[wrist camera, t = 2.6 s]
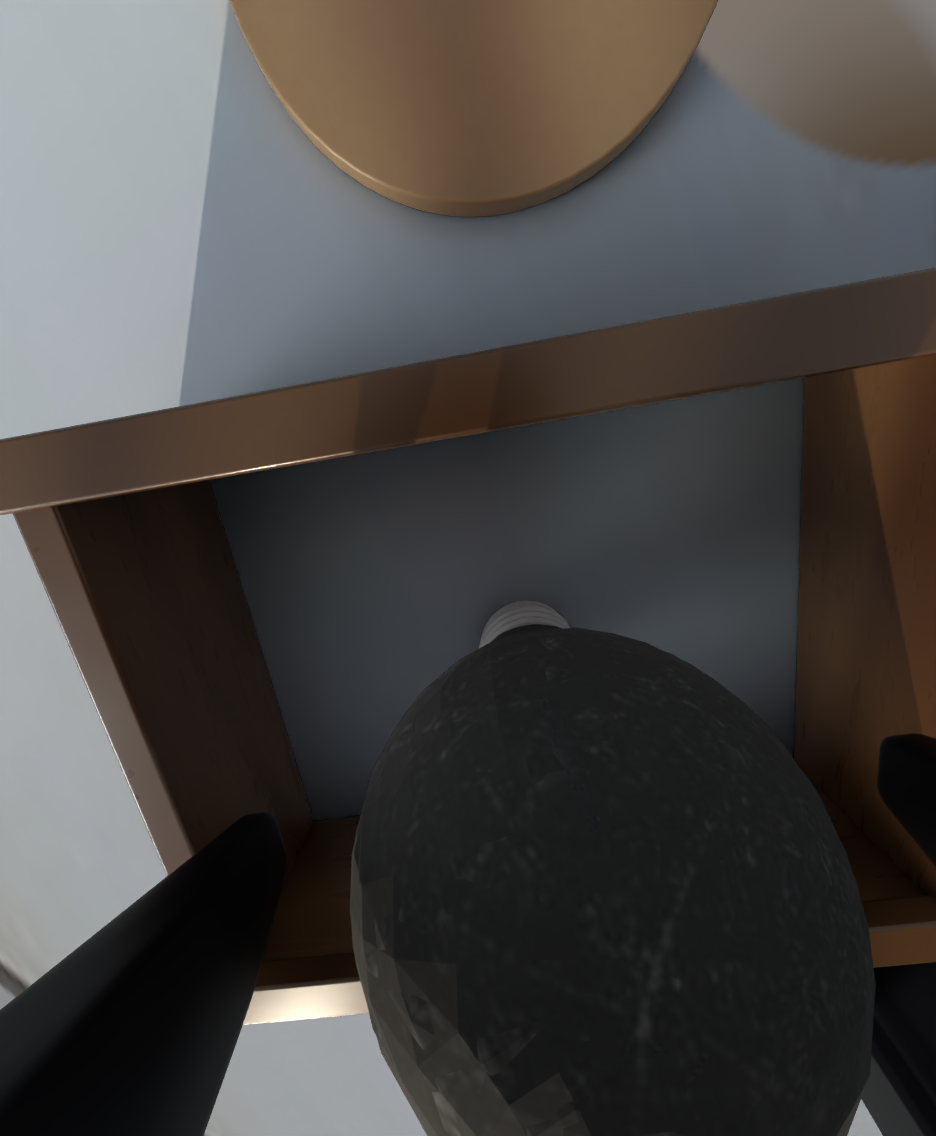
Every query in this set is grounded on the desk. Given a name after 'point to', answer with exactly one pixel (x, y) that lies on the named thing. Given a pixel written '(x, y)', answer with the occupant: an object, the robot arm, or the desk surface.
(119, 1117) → the robot arm
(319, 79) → the coaster
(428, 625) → the desk surface
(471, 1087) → the light bulb
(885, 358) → the wooden cubby shelf
